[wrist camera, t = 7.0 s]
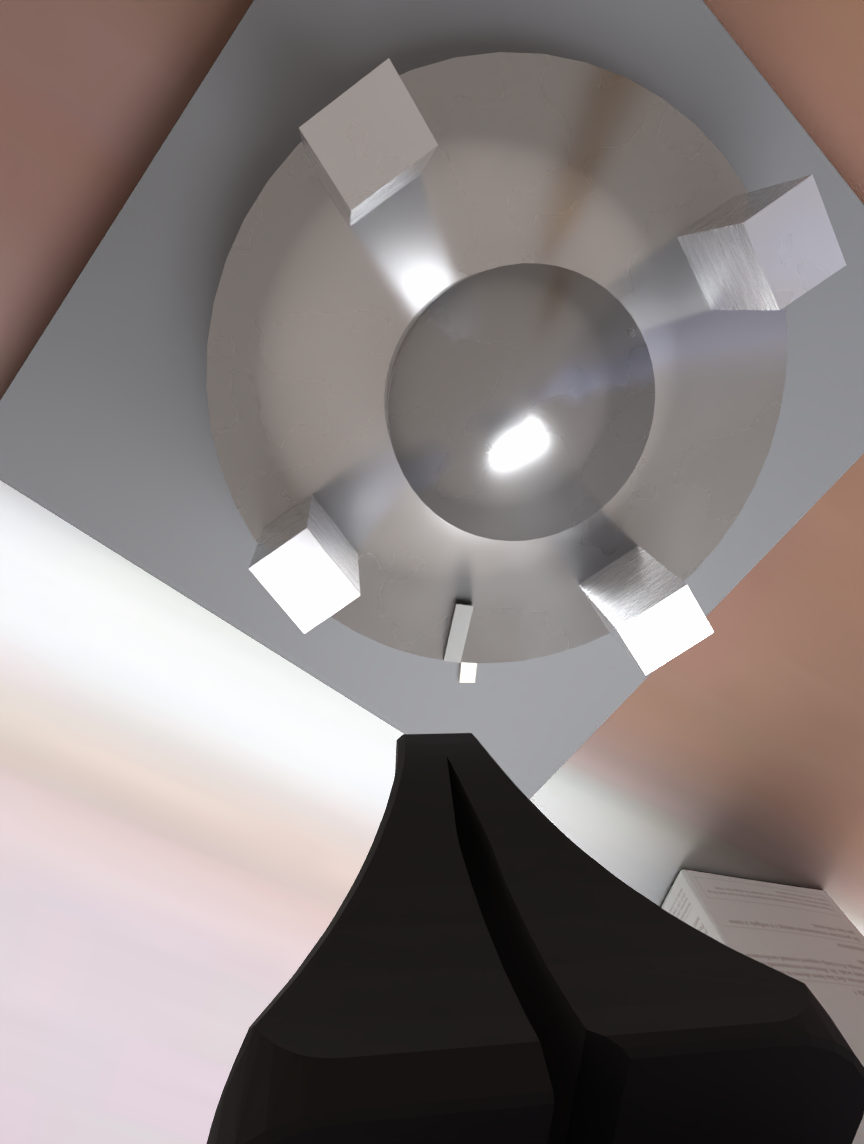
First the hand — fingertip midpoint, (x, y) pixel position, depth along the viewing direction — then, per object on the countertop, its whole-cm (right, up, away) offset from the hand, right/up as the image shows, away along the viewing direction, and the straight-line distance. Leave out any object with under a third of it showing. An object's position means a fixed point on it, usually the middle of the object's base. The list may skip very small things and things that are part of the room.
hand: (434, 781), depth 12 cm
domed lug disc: (+2, +9, +7) cm, 11 cm away
